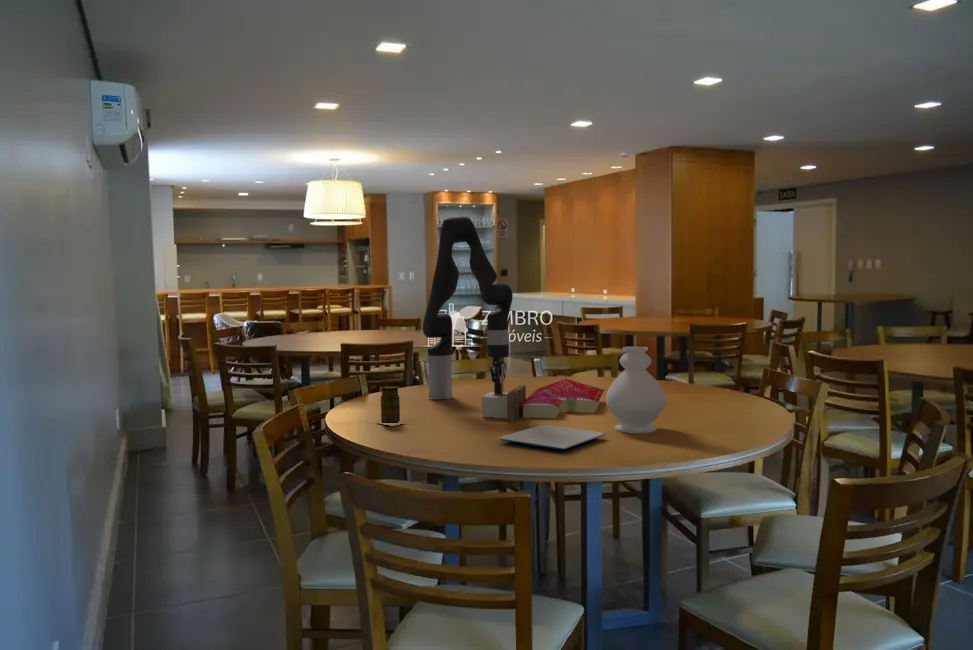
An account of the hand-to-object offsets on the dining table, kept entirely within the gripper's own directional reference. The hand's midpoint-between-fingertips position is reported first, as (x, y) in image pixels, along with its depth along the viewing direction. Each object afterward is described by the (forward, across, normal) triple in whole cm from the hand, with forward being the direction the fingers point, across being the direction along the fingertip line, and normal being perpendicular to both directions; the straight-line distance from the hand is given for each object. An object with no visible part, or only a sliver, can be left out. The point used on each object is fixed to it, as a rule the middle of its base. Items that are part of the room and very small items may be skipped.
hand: (498, 393), depth 250 cm
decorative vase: (+8, -15, -47) cm, 50 cm away
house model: (+8, +16, -20) cm, 27 cm away
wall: (+8, 0, -6) cm, 10 cm away
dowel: (+4, 0, 0) cm, 4 cm away
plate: (+8, -36, -25) cm, 44 cm away
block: (+8, 0, 0) cm, 8 cm away
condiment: (+8, -20, +31) cm, 38 cm away
